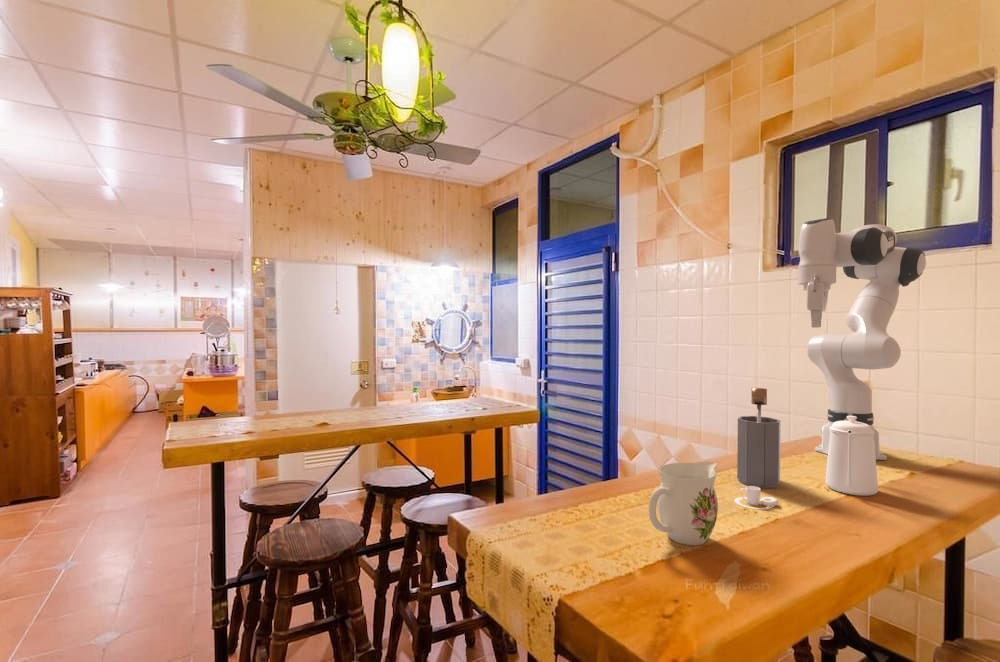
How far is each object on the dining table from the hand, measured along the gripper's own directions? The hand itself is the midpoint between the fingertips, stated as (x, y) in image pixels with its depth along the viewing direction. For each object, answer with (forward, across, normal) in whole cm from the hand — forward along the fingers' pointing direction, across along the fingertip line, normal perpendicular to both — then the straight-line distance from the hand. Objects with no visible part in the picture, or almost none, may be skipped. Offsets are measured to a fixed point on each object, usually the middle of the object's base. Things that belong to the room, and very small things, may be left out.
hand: (816, 327), depth 136 cm
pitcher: (+41, -63, +19) cm, 78 cm away
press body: (+41, -15, +12) cm, 45 cm away
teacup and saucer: (+42, -36, +8) cm, 56 cm away
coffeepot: (+41, -9, -8) cm, 43 cm away
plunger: (+40, -16, +12) cm, 45 cm away
